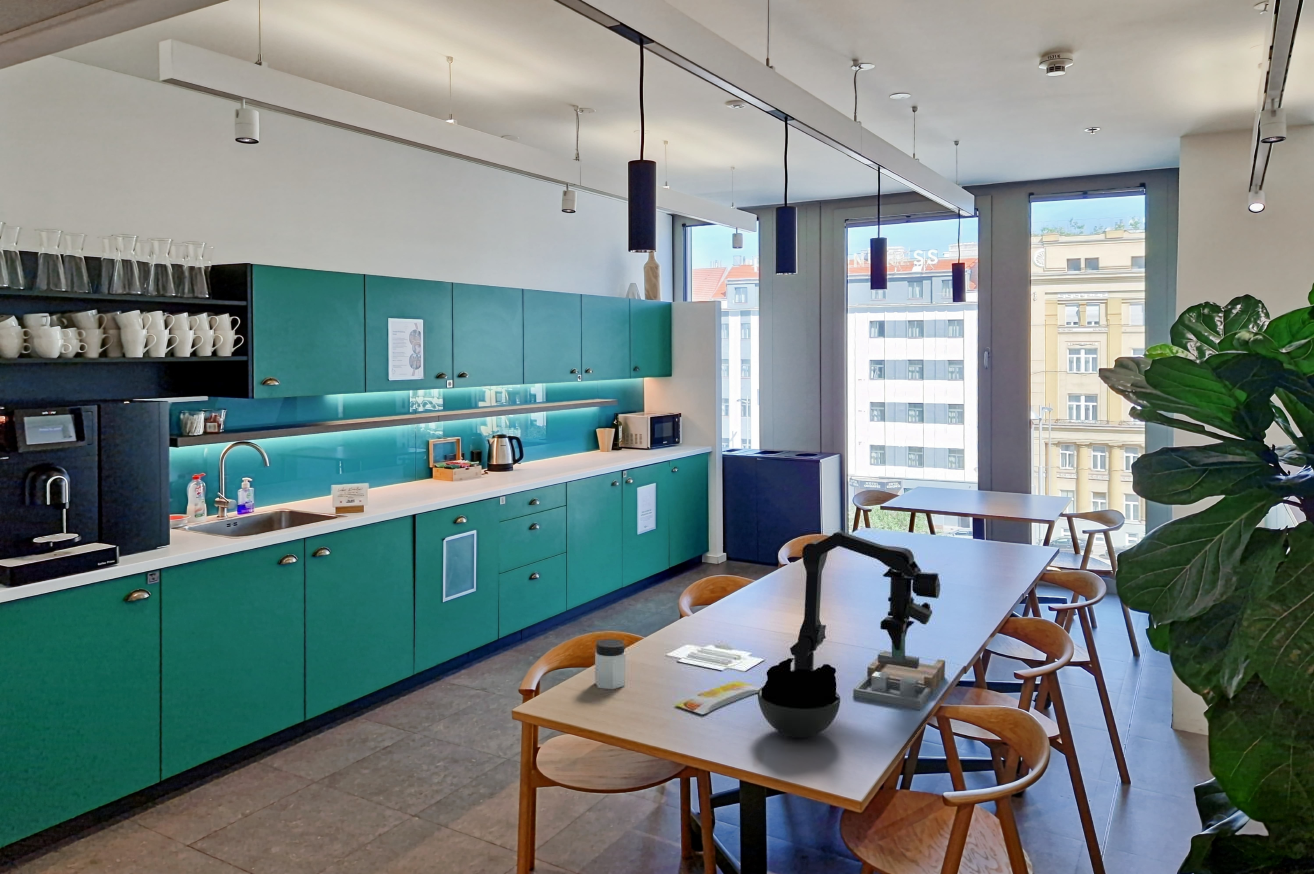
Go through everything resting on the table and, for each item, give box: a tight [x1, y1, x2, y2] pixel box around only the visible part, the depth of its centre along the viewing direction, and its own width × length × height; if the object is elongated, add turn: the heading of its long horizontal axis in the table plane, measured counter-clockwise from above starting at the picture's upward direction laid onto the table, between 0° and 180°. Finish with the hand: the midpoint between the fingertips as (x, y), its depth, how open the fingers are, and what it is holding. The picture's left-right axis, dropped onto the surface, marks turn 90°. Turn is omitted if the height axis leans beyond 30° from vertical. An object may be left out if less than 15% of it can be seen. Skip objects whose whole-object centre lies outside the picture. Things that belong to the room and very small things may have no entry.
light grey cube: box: [900, 677, 918, 697], centre depth 248 cm, size 4×4×4 cm
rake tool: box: [877, 632, 920, 669], centre depth 252 cm, size 3×11×9 cm, turn 60°
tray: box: [665, 640, 766, 673], centre depth 280 cm, size 20×28×4 cm
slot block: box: [866, 650, 946, 696], centre depth 261 cm, size 18×18×5 cm
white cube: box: [871, 672, 890, 692], centre depth 252 cm, size 4×4×4 cm
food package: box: [674, 680, 761, 715], centre depth 244 cm, size 27×2×10 cm
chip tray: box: [852, 675, 932, 711], centre depth 247 cm, size 13×18×2 cm
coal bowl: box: [757, 657, 841, 739], centre depth 219 cm, size 20×20×19 cm
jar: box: [594, 638, 626, 690], centre depth 254 cm, size 9×8×12 cm
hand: (899, 648), depth 252 cm, fingers closed on rake tool, 3 cm apart
